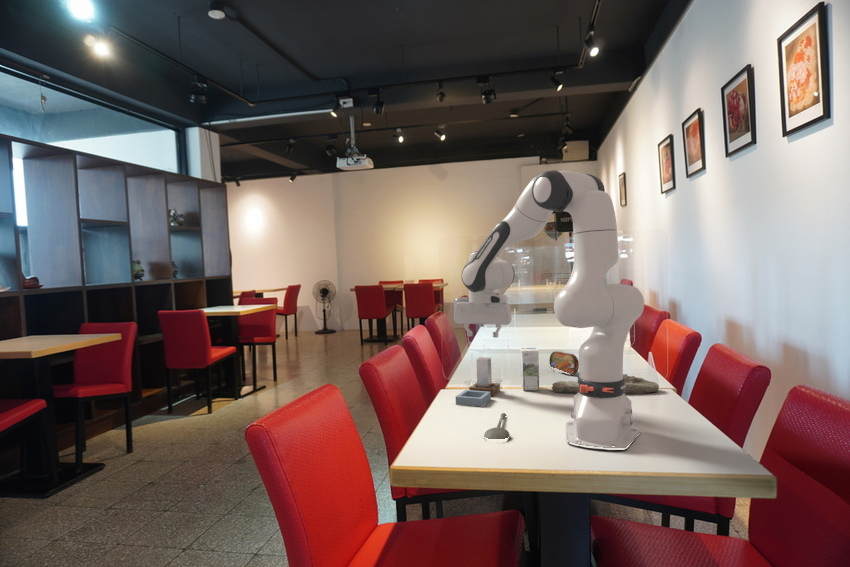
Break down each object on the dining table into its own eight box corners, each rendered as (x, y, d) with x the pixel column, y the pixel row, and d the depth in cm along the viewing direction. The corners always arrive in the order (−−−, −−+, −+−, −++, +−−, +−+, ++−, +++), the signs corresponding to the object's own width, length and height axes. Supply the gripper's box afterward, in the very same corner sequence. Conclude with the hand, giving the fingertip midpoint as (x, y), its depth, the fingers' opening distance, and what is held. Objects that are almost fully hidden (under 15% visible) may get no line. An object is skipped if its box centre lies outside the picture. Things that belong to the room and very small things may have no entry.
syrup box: (537, 386, 187) (536, 346, 186) (539, 391, 181) (538, 349, 180) (521, 387, 188) (520, 347, 187) (523, 391, 182) (521, 350, 181)
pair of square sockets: (482, 406, 165) (481, 398, 165) (455, 404, 169) (455, 396, 169) (500, 390, 184) (500, 383, 184) (476, 388, 188) (476, 381, 188)
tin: (549, 370, 213) (548, 350, 213) (555, 369, 214) (554, 349, 214) (574, 377, 199) (573, 355, 199) (580, 376, 201) (580, 354, 200)
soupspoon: (482, 446, 134) (507, 449, 132) (482, 433, 133) (508, 436, 132) (493, 417, 155) (515, 419, 153) (493, 406, 155) (515, 408, 153)
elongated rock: (551, 391, 186) (553, 400, 176) (550, 377, 185) (552, 385, 176) (654, 386, 180) (662, 395, 170) (653, 371, 180) (661, 379, 170)
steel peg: (488, 394, 179) (487, 360, 179) (477, 393, 181) (476, 359, 180) (492, 391, 183) (490, 357, 182) (481, 390, 185) (480, 357, 184)
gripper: (450, 298, 182) (451, 337, 183) (507, 298, 173) (508, 339, 174) (456, 296, 188) (458, 334, 188) (512, 296, 179) (513, 336, 180)
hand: (482, 336), depth 181 cm, fingers open, 8 cm apart
